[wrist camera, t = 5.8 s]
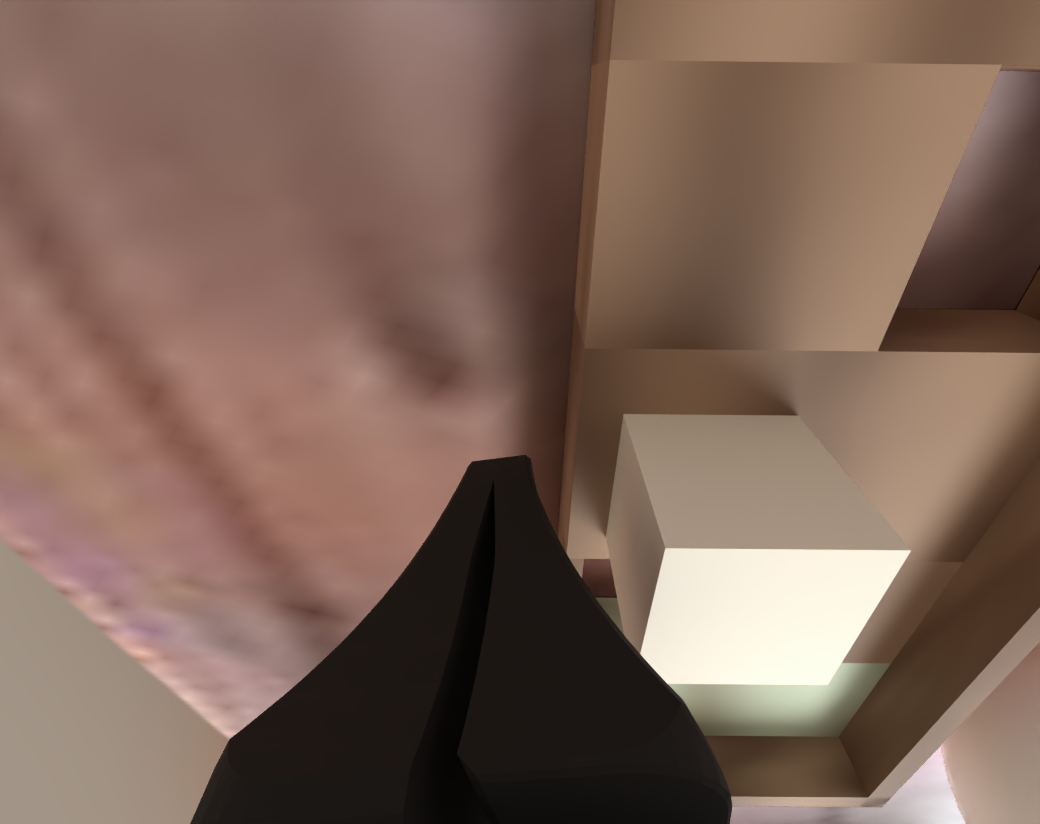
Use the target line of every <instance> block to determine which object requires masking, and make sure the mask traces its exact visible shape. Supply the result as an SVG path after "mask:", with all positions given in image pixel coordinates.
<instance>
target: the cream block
mask: <svg viewBox="0 0 1040 824" xmlns="http://www.w3.org/2000/svg"><path fill="white" fill-rule="evenodd" d="M606 541H607V546H608V552H609V557H610V562H611V568H612V573H613V578H614V584H615V589H616V594H617V600H618V605H619V610H620V616H621V621H622V627H623V632H624V636H625V637H626V638H627V639H628V640H629V642H630V643H631V644H632V645H633V646H634V647H635V648H636V650H637V651H638V652H639V653H640V654H641V655H642V657H643V658H644V659H645V660H646V661H647V662H648V663H649V664H650V666H651V667H652V668H653V669H654V670H655V671H656V672H657V673H658V674H659V675H660V676H661V677H662V679H663V680H664V681H665V682H666V683H667V684H747V685H828V684H829V682H830V681H831V679H832V677H833V676H834V674H835V673H836V671H837V669H838V668H839V666H840V665H841V663H842V661H843V660H844V658H845V657H846V655H847V653H848V652H849V650H850V648H851V647H852V645H853V644H854V642H855V640H856V639H857V637H858V636H859V634H860V632H861V631H862V629H863V628H864V626H865V624H866V623H867V621H868V619H869V618H870V616H871V615H872V613H873V611H874V610H875V608H876V607H877V605H878V603H879V602H880V600H881V599H882V597H883V595H884V594H885V592H886V590H887V589H888V587H889V586H890V584H891V582H892V581H893V579H894V578H895V576H896V574H897V573H898V571H899V570H900V568H901V566H902V565H903V563H904V561H905V560H906V558H907V557H908V555H909V553H910V552H911V549H910V548H909V547H908V546H907V545H906V543H905V542H904V541H903V540H902V539H901V538H900V536H899V535H898V534H897V533H896V532H895V530H894V529H893V528H892V527H891V526H890V524H889V523H888V522H887V521H886V520H885V518H884V517H883V516H882V515H881V514H880V513H879V511H878V510H877V509H876V508H875V507H874V505H873V504H872V503H871V502H870V501H869V499H868V498H867V497H866V496H865V495H864V494H863V492H862V491H861V490H860V489H859V488H858V486H857V485H856V484H855V483H854V482H853V480H852V479H851V478H850V477H849V476H848V474H847V473H846V472H845V471H844V470H843V469H842V467H841V466H840V465H839V464H838V463H837V461H836V460H835V459H834V458H833V457H832V455H831V454H830V453H829V452H828V451H827V450H826V448H825V447H824V446H823V445H822V444H821V442H820V441H819V440H818V439H817V438H816V436H815V435H814V434H813V433H812V432H811V430H810V429H809V428H808V427H807V426H806V425H805V423H804V422H803V421H802V420H801V419H800V417H799V416H788V415H679V414H623V421H622V428H621V435H620V442H619V449H618V456H617V463H616V470H615V477H614V484H613V491H612V498H611V505H610V512H609V519H608V526H607V533H606Z"/></svg>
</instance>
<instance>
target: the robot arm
mask: <svg viewBox="0 0 1040 824" xmlns="http://www.w3.org/2000/svg"><path fill="white" fill-rule="evenodd" d="M731 811H732V800H731V794H730V790H729V787H728V784H727V782H726V779H725V777H724V774H723V772H722V770H721V767H720V765H719V763H718V761H717V759H716V757H715V755H714V753H713V751H712V749H711V747H710V745H709V743H708V742H707V740H706V738H705V736H704V734H703V733H702V731H701V729H700V727H699V726H698V724H697V722H696V721H695V719H694V717H693V716H692V714H691V712H690V711H689V709H688V707H687V705H686V704H685V702H684V701H683V699H682V698H681V697H680V696H679V695H678V694H677V693H676V692H675V691H674V690H673V689H672V688H671V687H670V686H669V685H668V684H667V683H666V682H665V681H664V680H663V679H662V677H661V676H660V675H659V674H658V673H657V672H656V671H655V670H654V669H653V668H652V667H651V666H650V664H649V663H648V662H647V661H646V660H645V659H644V658H643V657H642V655H641V654H640V653H639V652H638V651H637V650H636V648H635V647H634V646H633V645H632V644H631V643H630V642H629V640H628V639H627V638H626V637H625V636H624V634H623V633H622V632H621V630H620V629H619V628H618V627H617V625H616V624H615V623H614V622H613V620H612V619H611V618H610V616H609V615H608V614H607V613H606V611H605V610H604V609H603V607H602V606H601V605H600V604H599V602H598V601H597V600H596V598H595V597H594V595H593V594H592V592H591V591H590V589H589V588H588V587H587V585H586V584H585V582H584V581H583V579H582V578H581V576H580V575H579V573H578V571H577V570H576V568H575V567H574V565H573V564H572V562H571V560H570V559H569V557H568V555H567V553H566V552H565V550H564V548H563V546H562V545H561V543H560V541H559V539H558V537H557V535H556V533H555V531H554V529H553V527H552V525H551V523H550V521H549V519H548V517H547V515H546V512H545V510H544V508H543V506H542V503H541V501H540V498H539V496H538V493H537V490H536V484H535V479H534V474H533V469H532V463H531V459H530V458H529V457H527V456H526V455H521V456H513V457H505V458H497V459H489V460H481V461H473V462H472V463H471V464H470V465H469V466H468V468H467V470H466V472H465V474H464V476H463V478H462V480H461V482H460V483H459V485H458V487H457V489H456V491H455V493H454V494H453V496H452V498H451V500H450V502H449V503H448V505H447V507H446V508H445V510H444V512H443V513H442V515H441V517H440V518H439V520H438V522H437V523H436V525H435V527H434V528H433V530H432V531H431V533H430V534H429V536H428V537H427V539H426V540H425V542H424V543H423V545H422V546H421V548H420V549H419V551H418V552H417V553H416V555H415V556H414V558H413V559H412V561H411V562H410V563H409V565H408V566H407V568H406V569H405V570H404V571H403V573H402V574H401V575H400V577H399V578H398V579H397V581H396V582H395V583H394V584H393V586H392V587H391V588H390V589H389V591H388V592H387V593H386V594H385V595H384V597H383V598H382V599H381V600H380V601H379V603H378V604H377V605H376V606H375V607H374V608H373V609H372V610H371V611H370V613H369V614H368V615H367V616H366V617H365V618H364V619H363V620H362V621H361V623H360V624H359V625H358V626H357V627H356V628H355V629H354V630H353V631H352V632H351V633H350V634H349V635H348V636H347V638H346V639H345V640H344V641H343V642H342V643H341V644H340V645H339V646H338V647H336V648H335V649H334V650H333V651H332V652H331V653H330V654H329V655H328V656H327V657H326V658H325V659H324V660H323V661H322V662H321V663H320V664H319V665H318V666H317V667H315V668H314V669H313V670H312V671H311V672H310V673H309V674H308V675H307V676H306V677H304V678H303V679H302V680H301V681H300V682H299V683H298V684H297V685H295V686H294V687H293V688H292V689H291V690H290V691H289V692H287V693H286V694H285V695H284V696H283V697H281V698H280V699H279V700H278V701H277V702H275V703H274V704H273V705H272V706H270V707H269V708H268V709H267V710H266V711H264V712H263V713H262V714H261V715H259V716H258V717H257V718H256V719H254V720H253V721H252V722H251V723H250V724H248V725H247V726H246V727H245V728H243V729H242V730H241V731H240V732H238V733H237V734H236V735H234V736H233V737H232V738H231V739H230V740H229V742H228V744H227V745H226V747H225V749H224V751H223V753H222V755H221V757H220V759H219V761H218V763H217V765H216V767H215V769H214V771H213V773H212V775H211V778H210V780H209V783H208V785H207V787H206V789H205V792H204V794H203V797H202V798H201V801H200V803H199V805H198V808H197V810H196V812H195V814H194V817H193V819H192V821H191V823H190V824H730V817H731Z"/></svg>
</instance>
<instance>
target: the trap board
mask: <svg viewBox="0 0 1040 824" xmlns="http://www.w3.org/2000/svg"><path fill="white" fill-rule="evenodd" d="M999 71H1040V0H596V9H595V23H594V37H593V51H592V65H591V79H590V93H589V107H588V121H587V135H586V149H585V163H584V177H583V191H582V205H581V219H580V233H579V247H578V261H577V275H576V289H575V303H574V317H573V331H572V345H571V359H570V373H569V387H568V401H567V415H566V429H565V443H564V457H563V470H562V484H561V498H560V512H559V526H558V539H559V541H560V543H561V545H562V546H563V548H564V550H565V552H566V553H567V555H568V557H569V559H570V560H571V562H572V564H573V565H574V567H575V568H576V570H577V571H578V573H579V575H580V576H581V578H582V573H583V564H584V559H610V557H609V552H608V546H607V541H606V533H607V526H608V519H609V512H610V505H611V498H612V491H613V484H614V477H615V470H616V463H617V456H618V449H619V442H620V435H621V428H622V421H623V414H679V415H788V416H799V417H800V419H801V420H802V421H803V422H804V423H805V425H806V426H807V427H808V428H809V429H810V430H811V432H812V433H813V434H814V435H815V436H816V438H817V439H818V440H819V441H820V442H821V444H822V445H823V446H824V447H825V448H826V450H827V451H828V452H829V453H830V454H831V455H832V457H833V458H834V459H835V460H836V461H837V463H838V464H839V465H840V466H841V467H842V469H843V470H844V471H845V472H846V473H847V474H848V476H849V477H850V478H851V479H852V480H853V482H854V483H855V484H856V485H857V486H858V488H859V489H860V490H861V491H862V492H863V494H864V495H865V496H866V497H867V498H868V499H869V501H870V502H871V503H872V504H873V505H874V507H875V508H876V509H877V510H878V511H879V513H880V514H881V515H882V516H883V517H884V518H885V520H886V521H887V522H888V523H889V524H890V526H891V527H892V528H893V529H894V530H895V532H896V533H897V534H898V535H899V536H900V538H901V539H902V540H903V541H904V542H905V543H906V545H907V546H908V547H909V548H910V549H911V552H910V553H909V555H908V557H907V558H906V560H905V561H904V563H903V565H902V566H901V568H900V570H899V571H898V573H897V574H896V576H895V578H894V579H893V581H892V582H891V584H890V586H889V587H888V589H887V590H886V592H885V594H884V595H883V597H882V599H881V600H880V602H879V603H878V605H877V607H876V608H875V610H874V611H873V613H872V615H871V616H870V618H869V619H868V621H867V623H866V624H865V626H864V628H863V629H862V631H861V632H860V634H859V636H858V637H857V639H856V640H855V642H854V644H853V645H852V647H851V648H850V650H849V652H848V653H847V655H846V657H845V658H844V660H843V661H842V663H841V665H840V666H839V668H838V669H837V671H836V673H835V674H834V676H833V677H832V679H831V681H830V682H829V684H828V685H747V684H668V685H669V686H670V687H671V688H672V689H673V690H674V691H675V692H676V693H677V694H678V695H679V696H680V697H681V698H682V699H683V701H684V702H685V704H686V705H687V707H688V709H689V711H690V712H691V714H692V716H693V717H694V719H695V721H696V722H697V724H698V726H699V727H700V729H701V731H702V733H703V734H704V736H705V738H706V740H707V742H708V743H709V745H710V747H711V749H712V751H713V753H714V755H715V757H716V759H717V761H718V763H719V765H720V767H721V770H722V772H723V774H724V777H725V779H726V782H727V784H728V787H729V790H730V794H731V800H732V806H799V807H882V806H883V805H884V804H885V803H886V802H887V801H888V800H889V799H890V798H891V797H892V796H893V795H894V794H895V793H896V792H897V791H898V790H899V789H900V788H901V787H902V786H903V785H904V783H905V782H906V781H907V780H908V779H909V778H910V777H911V776H912V775H913V774H914V773H915V772H916V771H917V770H918V769H919V768H920V767H921V766H922V765H923V764H924V763H925V762H926V761H927V759H928V758H929V757H930V756H931V755H932V754H933V753H934V752H935V751H936V750H937V749H938V748H939V747H940V746H941V745H942V744H943V743H944V742H945V741H946V740H947V739H948V738H949V736H950V735H951V734H952V733H953V732H954V731H955V730H956V729H957V728H958V727H959V726H960V725H961V724H962V723H963V722H964V721H965V720H966V719H967V718H968V717H969V716H970V715H971V714H972V712H973V711H974V710H975V709H976V708H977V707H978V706H979V705H980V704H981V703H982V702H983V701H984V700H985V699H986V698H987V697H988V696H989V695H990V694H991V693H992V692H993V691H994V690H995V688H996V687H997V686H998V685H999V684H1000V683H1001V682H1002V681H1003V680H1004V679H1005V678H1006V677H1007V676H1008V675H1009V674H1010V673H1011V672H1012V671H1013V670H1014V669H1015V668H1016V667H1017V665H1018V664H1019V663H1020V662H1021V661H1022V660H1023V659H1024V658H1025V657H1026V656H1027V655H1028V654H1029V653H1030V652H1031V651H1032V650H1033V649H1034V648H1035V647H1036V646H1037V645H1038V644H1039V643H1040V268H1039V270H1038V272H1037V274H1036V275H1035V277H1034V279H1033V281H1032V282H1031V284H1030V286H1029V288H1028V290H1027V291H1026V293H1025V295H1024V297H1023V298H1022V300H1021V302H1020V304H1019V305H1018V307H1017V309H1016V310H968V309H896V308H897V306H898V303H899V301H900V299H901V296H902V294H903V292H904V289H905V287H906V285H907V283H908V280H909V278H910V276H911V273H912V271H913V269H914V266H915V264H916V262H917V260H918V257H919V255H920V253H921V250H922V248H923V246H924V243H925V241H926V239H927V237H928V234H929V232H930V230H931V227H932V225H933V223H934V220H935V218H936V216H937V214H938V211H939V209H940V207H941V204H942V202H943V200H944V198H945V195H946V193H947V191H948V188H949V186H950V184H951V181H952V179H953V177H954V175H955V172H956V170H957V168H958V165H959V163H960V161H961V158H962V156H963V154H964V152H965V149H966V147H967V145H968V142H969V140H970V138H971V135H972V133H973V131H974V129H975V126H976V124H977V122H978V119H979V117H980V115H981V112H982V110H983V108H984V106H985V103H986V101H987V99H988V96H989V94H990V92H991V89H992V87H993V85H994V83H995V80H996V78H997V76H998V73H999ZM595 598H596V600H597V601H598V602H599V604H600V605H601V606H602V607H603V609H604V610H605V611H606V613H607V614H608V615H609V616H610V618H611V619H612V620H613V622H614V623H615V624H616V625H617V627H618V628H619V629H620V630H621V632H622V633H623V634H624V632H623V627H622V621H621V616H620V610H619V605H618V600H617V598H597V597H595Z"/></svg>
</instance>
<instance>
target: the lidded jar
mask: <svg viewBox="0 0 1040 824" xmlns="http://www.w3.org/2000/svg"><path fill="white" fill-rule="evenodd" d="M941 749H942V756H943V761H944V765H945V770H946V774H947V778H948V782H949V785H950V787H951V790H952V793H953V795H954V798H955V801H956V803H957V806H958V808H959V811H960V813H961V815H962V817H963V819H964V821H965V823H966V824H1040V643H1039V644H1038V645H1037V646H1036V647H1035V648H1034V649H1033V650H1032V651H1031V652H1030V653H1029V654H1028V655H1027V656H1026V657H1025V658H1024V659H1023V660H1022V661H1021V662H1020V663H1019V664H1018V665H1017V667H1016V668H1015V669H1014V670H1013V671H1012V672H1011V673H1010V674H1009V675H1008V676H1007V677H1006V678H1005V679H1004V680H1003V681H1002V682H1001V683H1000V684H999V685H998V686H997V687H996V688H995V690H994V691H993V692H992V693H991V694H990V695H989V696H988V697H987V698H986V699H985V700H984V701H983V702H982V703H981V704H980V705H979V706H978V707H977V708H976V709H975V710H974V711H973V712H972V714H971V715H970V716H969V717H968V718H967V719H966V720H965V721H964V722H963V723H962V724H961V725H960V726H959V727H958V728H957V729H956V730H955V731H954V732H953V733H952V734H951V735H950V736H949V738H948V739H947V740H946V741H945V742H944V743H943V744H942V745H941Z"/></svg>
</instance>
